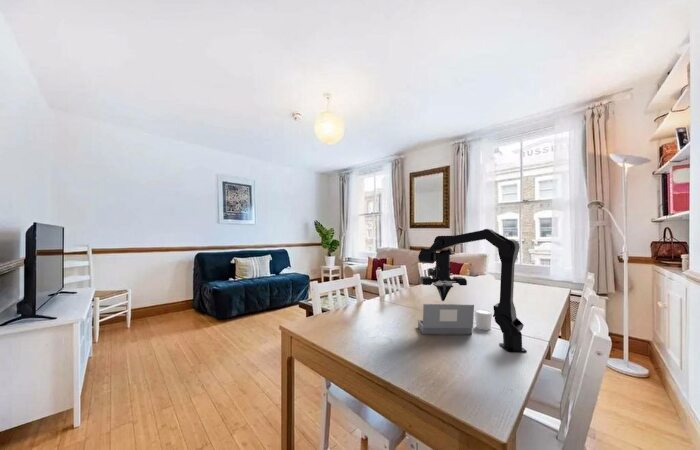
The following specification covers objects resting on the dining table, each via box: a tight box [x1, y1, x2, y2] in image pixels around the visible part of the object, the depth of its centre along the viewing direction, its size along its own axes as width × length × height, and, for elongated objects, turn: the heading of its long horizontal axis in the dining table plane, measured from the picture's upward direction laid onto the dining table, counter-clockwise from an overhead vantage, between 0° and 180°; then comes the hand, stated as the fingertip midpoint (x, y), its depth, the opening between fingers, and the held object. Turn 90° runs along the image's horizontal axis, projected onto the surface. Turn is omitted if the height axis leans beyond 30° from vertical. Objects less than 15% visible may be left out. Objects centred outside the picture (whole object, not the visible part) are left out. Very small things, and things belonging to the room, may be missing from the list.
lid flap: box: [422, 303, 475, 329], centre depth 109 cm, size 10×20×1 cm
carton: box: [417, 319, 473, 336], centre depth 115 cm, size 9×20×3 cm, turn 89°
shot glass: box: [474, 309, 493, 331], centre depth 119 cm, size 7×7×7 cm
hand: (442, 300), depth 115 cm, fingers closed
